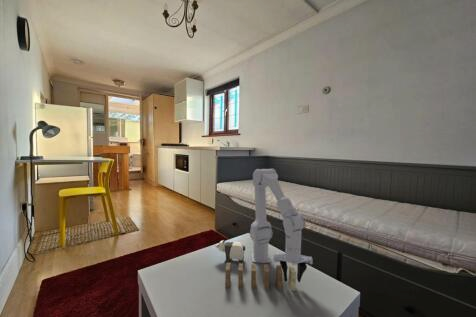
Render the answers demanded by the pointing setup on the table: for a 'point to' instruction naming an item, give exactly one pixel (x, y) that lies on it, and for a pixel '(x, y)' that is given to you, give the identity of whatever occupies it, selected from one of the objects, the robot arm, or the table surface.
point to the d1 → (227, 274)
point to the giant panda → (232, 250)
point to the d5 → (279, 277)
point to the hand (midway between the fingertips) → (292, 280)
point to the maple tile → (292, 278)
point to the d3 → (253, 276)
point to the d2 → (240, 275)
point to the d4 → (266, 277)
